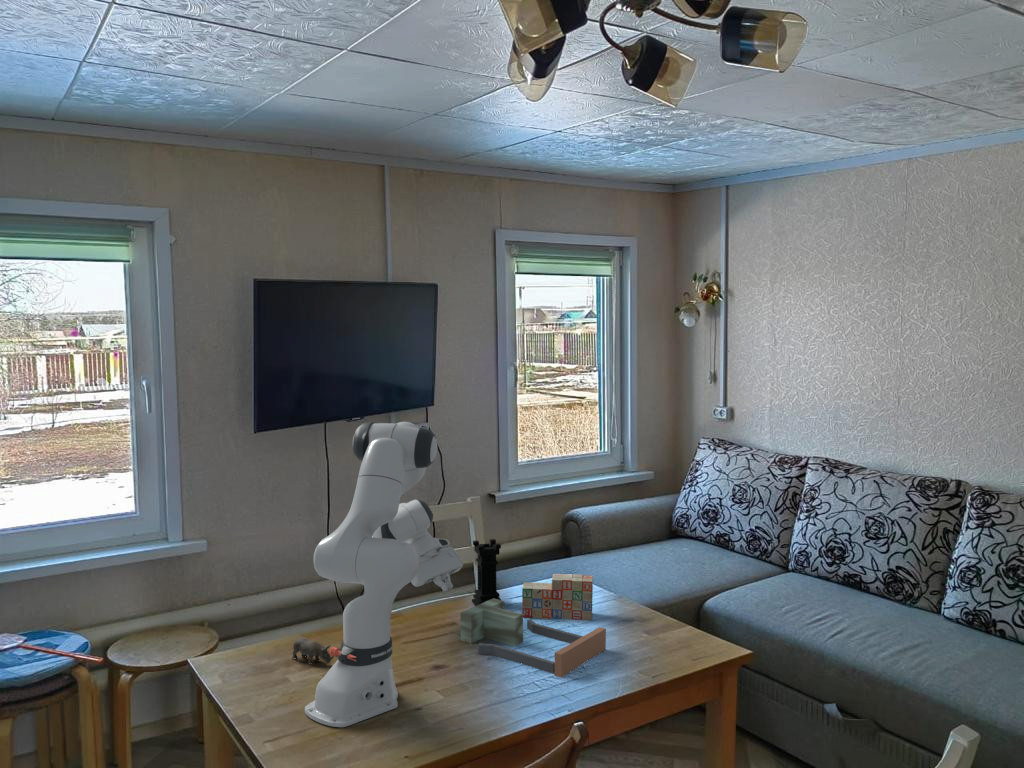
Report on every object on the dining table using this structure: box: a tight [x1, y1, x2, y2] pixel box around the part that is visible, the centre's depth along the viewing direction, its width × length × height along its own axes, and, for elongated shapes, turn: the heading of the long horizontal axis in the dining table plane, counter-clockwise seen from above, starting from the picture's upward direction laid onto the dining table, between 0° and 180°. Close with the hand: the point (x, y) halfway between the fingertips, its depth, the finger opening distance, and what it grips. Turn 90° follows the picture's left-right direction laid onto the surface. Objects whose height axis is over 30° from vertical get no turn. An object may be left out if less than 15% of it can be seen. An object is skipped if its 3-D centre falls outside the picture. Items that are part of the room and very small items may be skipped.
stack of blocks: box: [521, 573, 594, 621], centre depth 252 cm, size 21×6×12 cm, turn 83°
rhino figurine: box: [291, 636, 335, 664], centre depth 219 cm, size 4×14×6 cm, turn 60°
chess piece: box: [471, 538, 502, 607], centre depth 262 cm, size 8×8×20 cm
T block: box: [459, 598, 524, 647], centre depth 235 cm, size 15×15×8 cm
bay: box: [477, 618, 607, 678], centre depth 225 cm, size 24×27×6 cm
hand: (448, 589), depth 245 cm, fingers closed
